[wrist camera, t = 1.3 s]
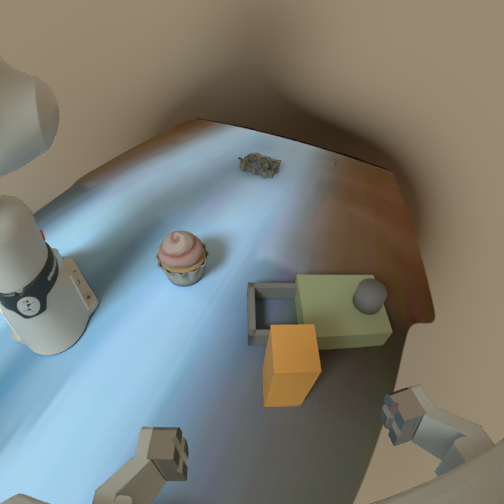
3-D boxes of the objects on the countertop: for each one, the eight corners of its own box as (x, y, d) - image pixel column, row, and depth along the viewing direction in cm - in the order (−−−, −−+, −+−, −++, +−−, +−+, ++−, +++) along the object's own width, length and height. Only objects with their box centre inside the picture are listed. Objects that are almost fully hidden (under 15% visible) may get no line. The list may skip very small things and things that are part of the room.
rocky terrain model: (235, 170, 84) (236, 157, 81) (251, 160, 88) (251, 148, 86) (268, 181, 80) (269, 168, 77) (282, 171, 84) (283, 158, 81)
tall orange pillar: (300, 405, 38) (321, 371, 30) (264, 406, 38) (273, 373, 29) (296, 367, 42) (314, 324, 34) (262, 368, 42) (270, 324, 34)
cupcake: (151, 268, 55) (141, 226, 48) (194, 249, 59) (190, 207, 52) (173, 302, 50) (164, 260, 43) (220, 279, 54) (218, 236, 47)
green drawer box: (383, 345, 45) (400, 321, 40) (248, 351, 44) (250, 326, 39) (366, 289, 54) (378, 262, 49) (247, 289, 53) (249, 260, 48)
